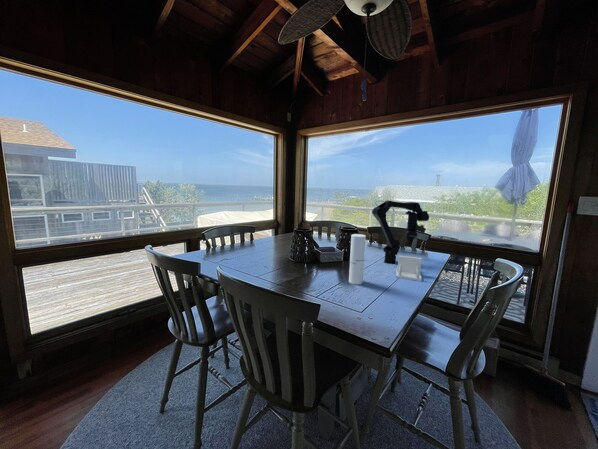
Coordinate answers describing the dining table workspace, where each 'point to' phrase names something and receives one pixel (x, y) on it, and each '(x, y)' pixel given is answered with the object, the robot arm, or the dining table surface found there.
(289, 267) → the dining table surface
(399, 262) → the tile
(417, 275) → the rack
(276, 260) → the dining table surface
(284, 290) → the dining table surface
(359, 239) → the cylindrical container
